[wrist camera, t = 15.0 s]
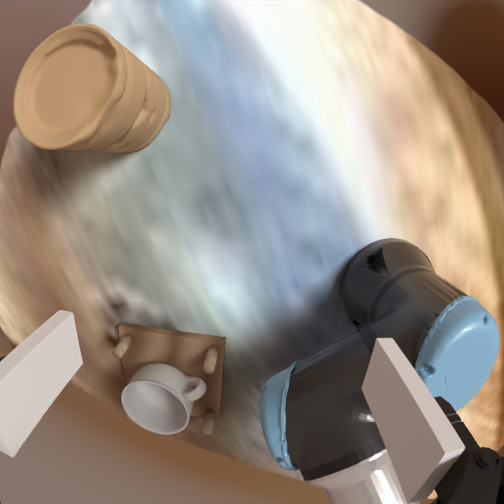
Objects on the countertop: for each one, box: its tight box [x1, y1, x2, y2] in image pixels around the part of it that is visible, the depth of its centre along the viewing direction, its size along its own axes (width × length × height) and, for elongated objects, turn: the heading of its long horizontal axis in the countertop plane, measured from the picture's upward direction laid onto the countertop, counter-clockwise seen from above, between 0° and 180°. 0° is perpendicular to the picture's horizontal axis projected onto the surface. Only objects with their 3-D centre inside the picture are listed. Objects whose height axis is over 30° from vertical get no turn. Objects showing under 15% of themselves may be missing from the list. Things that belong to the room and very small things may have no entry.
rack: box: [113, 322, 226, 435], centre depth 46 cm, size 17×17×6 cm
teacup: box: [121, 363, 207, 435], centre depth 44 cm, size 14×11×8 cm
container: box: [13, 23, 171, 153], centre depth 30 cm, size 13×13×18 cm
